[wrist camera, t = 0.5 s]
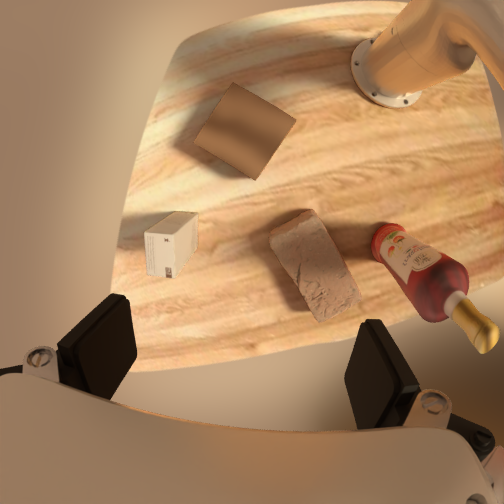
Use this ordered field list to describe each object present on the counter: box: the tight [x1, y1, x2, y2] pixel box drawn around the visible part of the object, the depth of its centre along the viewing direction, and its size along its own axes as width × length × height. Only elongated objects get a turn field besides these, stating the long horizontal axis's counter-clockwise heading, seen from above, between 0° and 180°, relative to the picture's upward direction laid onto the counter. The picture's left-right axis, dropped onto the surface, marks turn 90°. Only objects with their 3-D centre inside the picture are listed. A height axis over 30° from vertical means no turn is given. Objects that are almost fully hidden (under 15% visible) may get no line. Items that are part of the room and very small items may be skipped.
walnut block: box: [193, 83, 296, 180], centre depth 37 cm, size 10×10×5 cm
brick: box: [269, 209, 362, 323], centre depth 42 cm, size 17×8×5 cm, turn 33°
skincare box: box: [144, 211, 198, 279], centre depth 39 cm, size 6×4×12 cm
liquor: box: [371, 223, 500, 354], centre depth 29 cm, size 7×7×28 cm
